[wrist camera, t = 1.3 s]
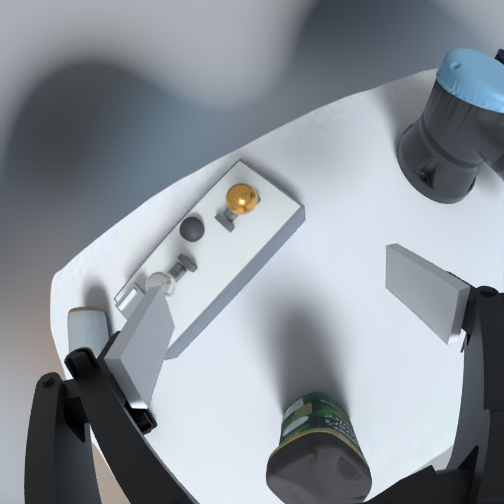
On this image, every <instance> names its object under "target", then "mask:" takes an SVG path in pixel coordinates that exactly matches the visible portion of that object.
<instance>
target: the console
mask: <svg viewBox="0 0 504 504" xmlns="http://www.w3.org/2000/svg"><path fill="white" fill-rule="evenodd" d="M237 183H246V184H249V185H250V186H252V187H253V188H254V189H255V191H256V193H257V196H258V202H257V205H256V207H255V208H254V210H253V211H251V212H250V213H248V214H245V215H239V216H238V217H237V218H236V219H235V220H234V221H233V222H231V221H230V220H228V219H227V218H226V217H225V216H224V215H223V214H222V212H223V211H224V210H225V209H226V208H227V207H228V206H227V204H226V194H227V191H228V190H229V189H230V187H232V186H233V185H235V184H237ZM304 221H305V206H303V205H302V204H301V203H300V202H298V201H297V200H296V199H294V198H293V197H292V196H290V195H289V194H288V193H286V192H285V191H284V190H282V189H281V188H280V187H278V186H277V185H276V184H274V183H273V182H272V181H270V180H269V179H268V178H266V177H265V176H264V175H262V174H261V173H259V172H258V171H257V170H255V169H254V168H252V167H251V166H250V165H248V164H247V163H245V162H244V161H242V160H241V159H239V160H238V161H237V162H236V163H235V164H234V165H233V166H232V167H231V168H230V169H229V170H228V171H227V172H226V173H225V174H224V175H223V176H222V177H221V178H220V179H219V180H218V181H217V182H216V183H215V184H214V185H213V186H212V187H211V188H210V189H209V190H208V191H207V192H206V193H205V194H204V195H203V197H202V198H201V199H200V200H199V201H198V202H197V203H196V204H195V205H194V206H193V207H192V208H191V209H190V210H189V211H188V212H187V213H186V214H185V216H184V217H183V218H182V219H181V220H180V221H179V222H178V223H177V224H176V225H175V226H174V228H173V229H172V230H171V231H170V232H169V233H168V234H167V235H166V237H165V238H164V239H163V240H162V241H161V242H160V243H159V244H158V246H157V247H156V248H155V249H154V250H153V251H152V253H151V254H150V255H149V256H148V257H147V258H146V260H145V261H144V262H143V263H142V264H141V265H140V267H139V268H138V269H137V270H136V271H135V273H134V274H133V275H132V276H131V278H130V279H129V280H128V281H127V282H126V284H125V285H124V286H123V287H122V289H121V290H120V291H119V292H118V294H117V295H116V296H115V298H114V300H115V301H116V303H117V302H118V301H119V300H120V299H121V297H122V296H123V295H124V294H125V292H126V291H127V290H128V289H129V287H130V286H131V285H132V284H133V283H138V285H139V286H140V287H141V288H142V289H143V290H144V291H145V292H146V288H145V284H146V281H147V278H148V277H149V276H150V275H151V274H152V273H154V272H156V271H165V272H168V271H169V270H170V269H171V268H172V267H173V265H174V264H175V263H176V262H177V261H178V262H179V263H181V264H182V265H183V266H184V267H185V268H186V269H187V272H186V273H185V274H184V275H183V276H182V278H181V279H180V280H179V281H178V282H177V283H176V292H175V294H174V296H173V297H172V298H171V299H170V300H169V301H167V304H168V307H169V310H170V313H171V316H172V319H173V322H174V325H175V329H174V331H173V334H172V337H171V340H170V343H169V346H168V349H167V351H166V354H165V357H164V360H168V359H173V358H177V357H178V356H179V355H180V354H181V353H182V352H183V351H184V349H185V348H186V347H187V346H188V345H189V344H190V343H191V342H192V341H193V340H194V339H195V338H196V337H197V336H198V335H199V334H200V333H201V332H202V331H203V330H204V329H205V328H206V327H207V326H208V324H209V323H210V322H211V321H212V320H213V319H214V318H215V317H216V316H217V315H218V314H219V313H220V312H221V311H222V310H223V309H224V308H225V307H226V306H227V304H228V303H229V302H230V301H231V300H232V299H233V298H234V297H235V296H236V295H237V294H238V293H239V292H240V291H241V290H242V288H243V287H244V286H245V285H246V284H247V283H248V282H249V281H250V280H251V279H252V278H253V277H254V276H255V275H256V273H257V272H258V271H259V270H260V269H261V268H262V267H263V266H264V265H265V264H266V263H267V262H268V261H269V259H270V258H271V257H272V256H273V255H274V254H275V253H276V252H277V251H278V250H279V249H280V248H281V246H282V245H283V244H284V243H285V242H286V241H287V240H288V239H289V238H290V237H291V236H292V234H293V233H294V232H295V231H296V230H297V229H298V228H299V227H300V226H301V225H302V223H303V222H304Z"/></svg>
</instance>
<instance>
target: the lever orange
mask: <svg viewBox="0 0 504 504" xmlns="http://www.w3.org/2000/svg"><path fill="white" fill-rule="evenodd" d="M257 202H258V196H257V193H256V191H255V189H254V188H253V187H252V186H250V185H249V184H246V183H237V184H235V185H233V186H232V187H230V189H229V190H228V191H227V194H226V204H227V206H228V207H227V208H226V209H225V210H224V211H223V212H222V214H223V215H224V216H225V217H226V218H227V219H228V220H230V221H231V222H233V221H234V220H235V219H236V218H237V217H238V216H239V215H245V214H248V213H250V212H251V211H253V210H254V208H255V207H256V205H257Z"/></svg>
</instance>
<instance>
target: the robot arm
mask: <svg viewBox="0 0 504 504" xmlns="http://www.w3.org/2000/svg"><path fill="white" fill-rule="evenodd" d="M436 75H437V77H436V81H435V84H434V86H433V89H432V92H431V94H430V97H429V100H428V102H427V105H426V107H425V110H424V112H423V114H422V116H421V117H420V118H419V119H418V120H417V121H416V122H415V123H414V124H412V125H411V126H409V127H408V128H407V129H406V130H405V132H404V133H403V135H402V137H401V140H400V142H399V145H398V160H399V164H400V167H401V169H402V171H403V173H404V175H405V176H406V178H407V179H408V181H409V182H410V183H411V184H412V185H413V186H414V187H415V188H416V189H417V190H418V191H419V192H420V193H421V194H423V195H424V196H426V197H427V198H429V199H431V200H433V201H436V202H439V203H444V204H452V203H456V202H459V201H461V200H462V199H463V198H464V197H465V196H466V195H467V194H468V193H469V192H470V191H471V190H472V188H473V186H474V183H475V180H476V176H477V174H478V171H479V167H480V164H481V163H482V162H483V161H485V162H486V163H487V164H488V165H489V166H490V167H491V168H492V169H493V170H494V171H495V172H496V173H497V174H498V175H499V176H500V177H501V178H502V179H503V181H504V65H503V64H502V63H500V62H499V61H497V60H496V59H494V58H492V57H490V56H488V55H486V54H484V53H482V52H479V51H477V50H473V49H468V48H456V49H453V50H451V51H449V52H448V53H447V54H446V56H445V58H444V60H443V63H442V65H441V67H440V68H439V69H438V71H437V74H436ZM386 288H387V289H388V290H389V291H390V292H391V293H392V294H393V295H395V296H396V297H397V298H398V299H399V300H400V301H401V302H402V303H403V304H405V305H406V306H407V307H408V308H409V309H410V310H411V311H412V312H413V313H414V314H415V315H417V316H418V317H419V318H420V319H421V320H422V321H423V322H424V323H425V324H426V325H427V326H428V327H429V328H430V329H431V330H432V331H433V332H435V333H436V334H437V335H438V336H439V337H440V338H441V339H442V340H443V341H444V342H445V343H446V344H447V345H449V344H451V343H453V342H455V341H457V340H459V337H460V333H461V329H463V330H464V331H465V332H466V335H465V339H464V342H463V345H462V349H461V352H463V350H464V373H463V387H462V398H461V406H460V414H459V420H458V426H457V432H456V437H455V442H454V447H453V451H452V456H451V458H450V461H449V463H448V465H447V467H446V469H443V470H437V471H435V470H434V468H433V466H432V465H430V466H428V467H426V468H424V469H422V470H420V471H418V472H416V473H414V474H412V475H410V476H408V477H406V478H403V479H401V480H399V481H398V482H396V483H395V484H394V485H392V486H391V487H389V488H388V489H386V490H385V491H383V492H382V493H380V494H378V495H377V496H375V497H374V498H372V499H370V500H368V501H366V502H363V503H355V504H504V293H499V292H498V291H497V290H496V289H495V288H492V287H489V286H480V287H478V288H475V287H473V286H472V285H470V284H469V283H467V282H465V281H464V280H461V278H459V277H456V275H454V274H452V273H451V272H448V271H445V270H443V269H441V268H440V267H438V266H436V265H434V264H433V263H431V262H429V261H427V260H426V259H424V258H422V257H420V256H419V255H417V254H415V253H413V252H411V251H410V250H408V249H406V248H404V247H402V246H400V245H398V244H397V243H396V244H391V245H386ZM174 329H175V325H174V322H173V319H172V316H171V313H170V310H169V307H168V304H167V301H166V297H165V294H164V291H163V288H162V285H161V286H155V287H150V288H149V289H148V291H147V292H146V294H145V295H144V296H143V298H142V299H141V301H140V302H139V304H138V305H137V307H136V308H135V310H134V311H133V313H132V315H131V316H130V318H129V319H128V321H127V322H126V324H125V325H124V327H123V328H122V330H121V331H117V332H116V333H115V334H114V335H112V336H111V337H110V339H109V340H108V342H107V343H106V344H107V345H105V346H104V348H103V350H102V351H101V353H100V354H99V356H98V357H97V359H96V357H95V355H94V353H93V351H92V350H91V349H90V348H88V347H82V348H78V349H75V350H74V351H72V352H70V353H69V354H68V355H67V356H66V358H65V361H64V363H65V365H66V366H67V368H68V370H69V372H70V373H71V375H72V377H73V378H74V379H70V380H65V381H63V380H62V379H61V377H60V376H59V374H58V373H55V372H52V373H48V374H45V375H44V376H42V377H41V378H40V380H39V381H38V382H37V385H36V389H35V394H34V399H33V404H32V409H31V415H30V421H29V428H28V436H27V445H26V456H25V476H24V477H25V479H24V481H25V482H24V490H25V491H24V495H25V504H102V503H101V498H100V494H99V489H98V485H97V479H96V473H95V467H94V461H93V453H92V446H91V436H90V426H91V428H92V431H93V433H94V435H95V438H96V440H97V442H98V444H99V447H100V449H101V451H102V453H103V455H104V457H105V459H106V461H107V463H108V465H109V467H110V469H111V471H112V473H113V474H114V476H115V478H116V480H117V481H118V483H119V485H120V487H121V489H122V490H123V492H124V494H125V495H126V497H127V498H128V500H129V502H130V503H131V504H200V503H199V502H198V501H197V500H196V499H195V498H194V497H193V496H192V495H191V494H190V493H189V492H188V491H187V490H186V488H185V487H184V486H183V485H182V484H181V483H180V482H179V481H178V479H177V478H176V477H175V476H174V475H173V474H172V472H171V471H170V470H169V469H168V467H167V466H166V465H165V464H164V463H163V461H162V460H161V459H160V457H159V456H158V455H157V453H156V452H155V451H154V449H153V448H152V447H151V445H150V444H149V443H148V441H147V440H146V438H145V437H144V436H143V434H142V433H141V431H140V430H139V428H138V427H137V425H136V424H135V422H134V421H133V419H132V418H131V416H130V414H129V413H128V411H127V410H126V408H125V407H124V404H125V401H126V399H127V401H128V402H129V404H130V405H131V407H132V408H148V407H149V404H150V400H151V397H152V394H153V391H154V388H155V385H156V381H157V378H158V375H159V372H160V369H161V366H162V363H163V360H164V357H165V354H166V351H167V349H168V346H169V343H170V340H171V337H172V334H173V331H174ZM89 423H90V424H89Z"/></svg>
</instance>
